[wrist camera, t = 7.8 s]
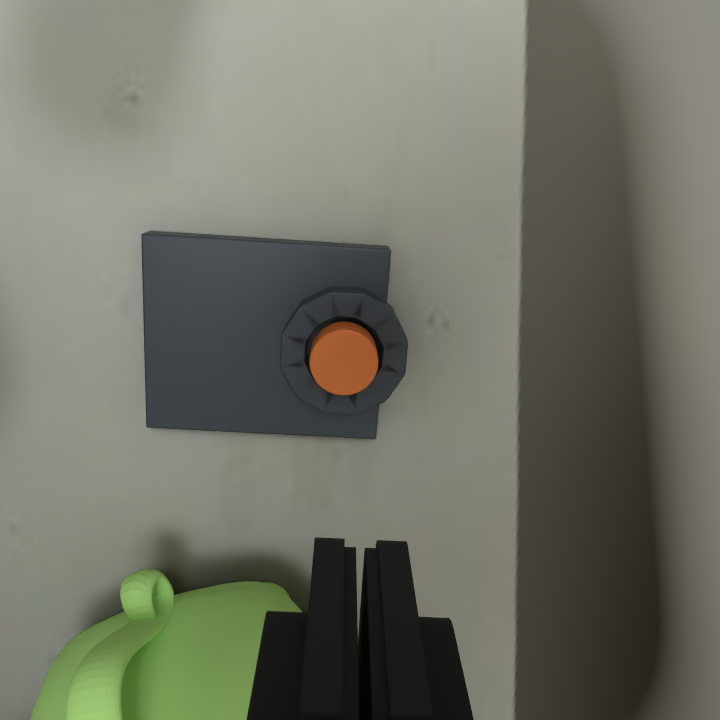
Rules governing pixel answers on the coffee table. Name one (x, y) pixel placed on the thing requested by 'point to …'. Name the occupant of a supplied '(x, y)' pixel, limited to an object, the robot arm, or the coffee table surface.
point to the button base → (261, 333)
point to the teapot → (164, 654)
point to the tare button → (343, 358)
